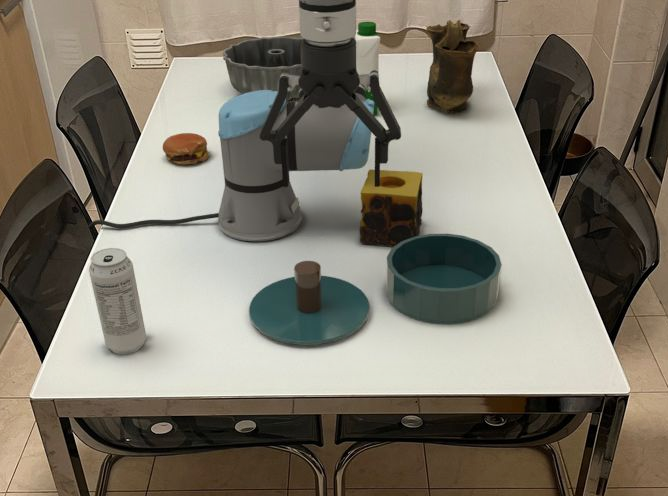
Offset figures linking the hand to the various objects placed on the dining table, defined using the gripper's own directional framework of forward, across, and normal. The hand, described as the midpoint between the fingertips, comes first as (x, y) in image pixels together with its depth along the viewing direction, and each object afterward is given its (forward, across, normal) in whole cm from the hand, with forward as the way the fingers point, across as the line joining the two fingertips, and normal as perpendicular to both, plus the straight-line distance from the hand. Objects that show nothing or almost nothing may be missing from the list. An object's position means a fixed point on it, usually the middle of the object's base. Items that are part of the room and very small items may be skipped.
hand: (331, 183), depth 125 cm
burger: (+20, -33, +52) cm, 64 cm away
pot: (+18, +17, -2) cm, 25 cm away
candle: (+19, +10, +18) cm, 28 cm away
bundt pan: (+20, -17, +93) cm, 97 cm away
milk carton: (+20, +3, +78) cm, 80 cm away
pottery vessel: (+20, +25, +81) cm, 87 cm away
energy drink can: (+18, -30, -16) cm, 39 cm away
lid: (+18, -4, -8) cm, 20 cm away
